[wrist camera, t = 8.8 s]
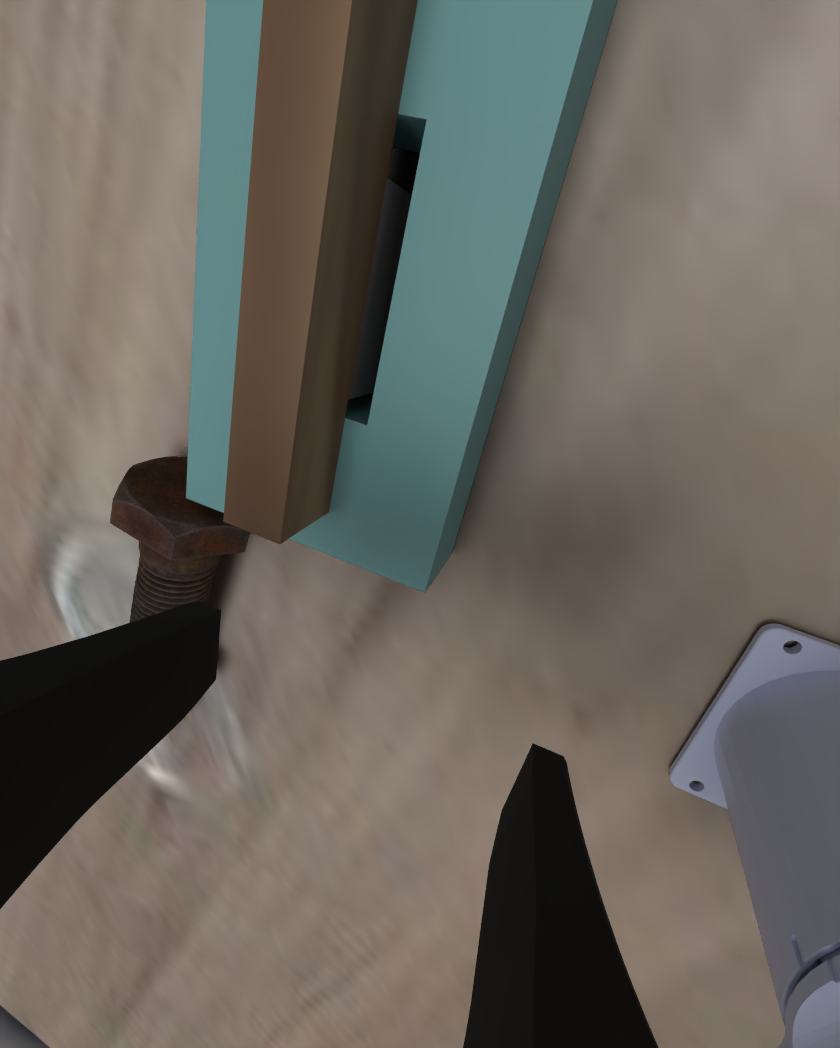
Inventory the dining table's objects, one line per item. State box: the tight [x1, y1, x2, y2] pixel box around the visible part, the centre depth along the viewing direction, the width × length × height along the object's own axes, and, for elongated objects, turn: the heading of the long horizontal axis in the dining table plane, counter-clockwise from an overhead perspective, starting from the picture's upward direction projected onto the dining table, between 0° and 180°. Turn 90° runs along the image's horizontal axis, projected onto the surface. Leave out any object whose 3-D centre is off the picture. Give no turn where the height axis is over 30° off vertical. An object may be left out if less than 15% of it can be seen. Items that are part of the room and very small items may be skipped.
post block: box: [186, 0, 617, 593], centre depth 16 cm, size 10×18×4 cm, turn 166°
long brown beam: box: [223, 0, 418, 544], centre depth 15 cm, size 2×14×6 cm, turn 166°
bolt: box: [110, 456, 250, 623], centre depth 24 cm, size 6×5×15 cm
